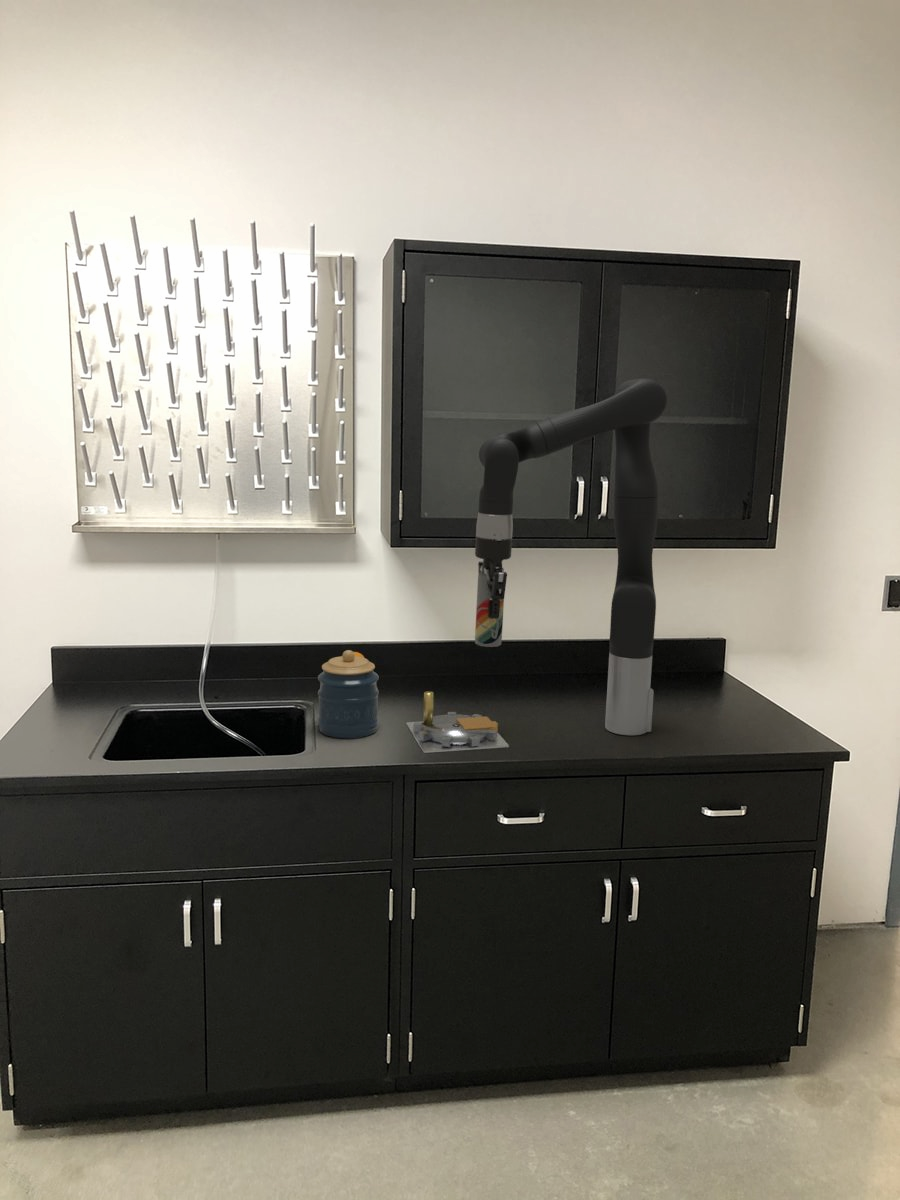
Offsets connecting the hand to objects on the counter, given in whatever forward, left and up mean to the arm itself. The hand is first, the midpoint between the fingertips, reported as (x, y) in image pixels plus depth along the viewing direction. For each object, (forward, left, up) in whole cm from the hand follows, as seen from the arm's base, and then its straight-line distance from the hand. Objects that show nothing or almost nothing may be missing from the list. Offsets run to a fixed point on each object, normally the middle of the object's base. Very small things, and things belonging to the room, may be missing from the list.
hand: (489, 614), depth 198 cm
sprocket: (+7, 0, -26) cm, 27 cm away
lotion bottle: (0, 0, -7) cm, 7 cm away
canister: (+29, -8, -26) cm, 40 cm away
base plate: (+7, 0, -26) cm, 27 cm away
